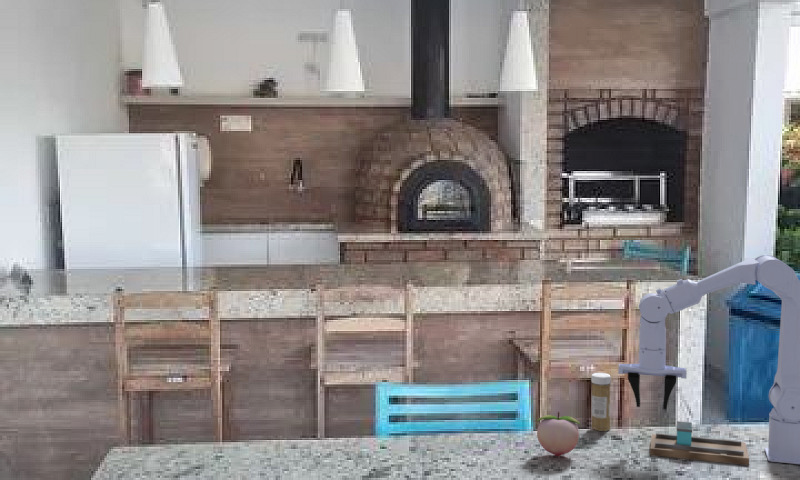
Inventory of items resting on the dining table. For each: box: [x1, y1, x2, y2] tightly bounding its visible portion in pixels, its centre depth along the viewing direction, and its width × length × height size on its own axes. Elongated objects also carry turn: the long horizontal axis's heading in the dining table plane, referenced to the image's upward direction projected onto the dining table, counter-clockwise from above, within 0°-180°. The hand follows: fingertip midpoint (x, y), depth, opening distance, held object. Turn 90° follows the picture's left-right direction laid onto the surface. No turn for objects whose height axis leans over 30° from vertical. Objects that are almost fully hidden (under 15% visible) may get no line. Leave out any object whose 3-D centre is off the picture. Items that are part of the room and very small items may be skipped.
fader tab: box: [676, 420, 693, 445], centre depth 176 cm, size 3×5×4 cm, turn 161°
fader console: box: [649, 432, 750, 466], centre depth 176 cm, size 20×10×2 cm, turn 71°
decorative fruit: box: [536, 411, 581, 457], centre depth 174 cm, size 9×8×10 cm
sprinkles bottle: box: [590, 372, 612, 432], centre depth 192 cm, size 5×5×13 cm
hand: (651, 406), depth 178 cm, fingers open, 5 cm apart
